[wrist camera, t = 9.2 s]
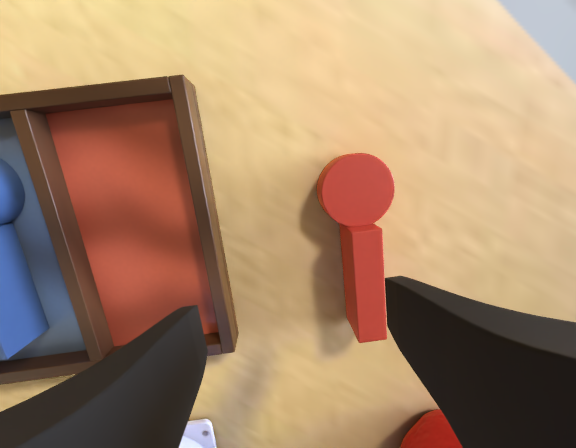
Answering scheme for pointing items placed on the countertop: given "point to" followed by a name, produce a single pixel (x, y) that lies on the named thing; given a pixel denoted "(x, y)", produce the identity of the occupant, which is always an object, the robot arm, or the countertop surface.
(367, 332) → the red spoon
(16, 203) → the blue spoon
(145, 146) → the sorting tray
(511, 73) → the countertop surface
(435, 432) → the pomegranate
